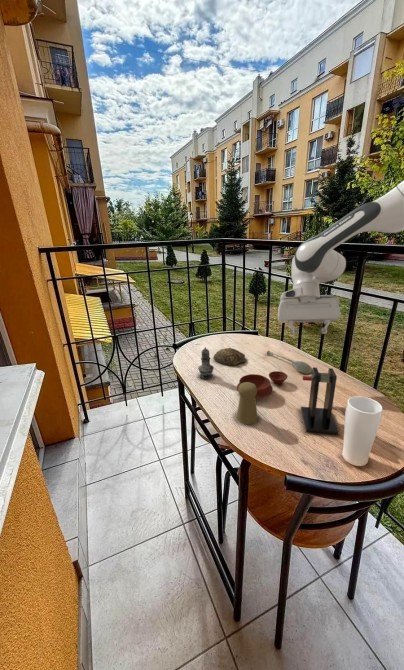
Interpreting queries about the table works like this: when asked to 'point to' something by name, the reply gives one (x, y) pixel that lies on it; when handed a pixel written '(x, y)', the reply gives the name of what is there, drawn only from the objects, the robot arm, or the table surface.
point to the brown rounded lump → (229, 356)
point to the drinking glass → (360, 429)
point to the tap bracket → (320, 417)
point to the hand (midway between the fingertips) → (309, 333)
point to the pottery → (264, 382)
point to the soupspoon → (297, 364)
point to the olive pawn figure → (247, 403)
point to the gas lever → (323, 378)
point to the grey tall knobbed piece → (205, 366)
